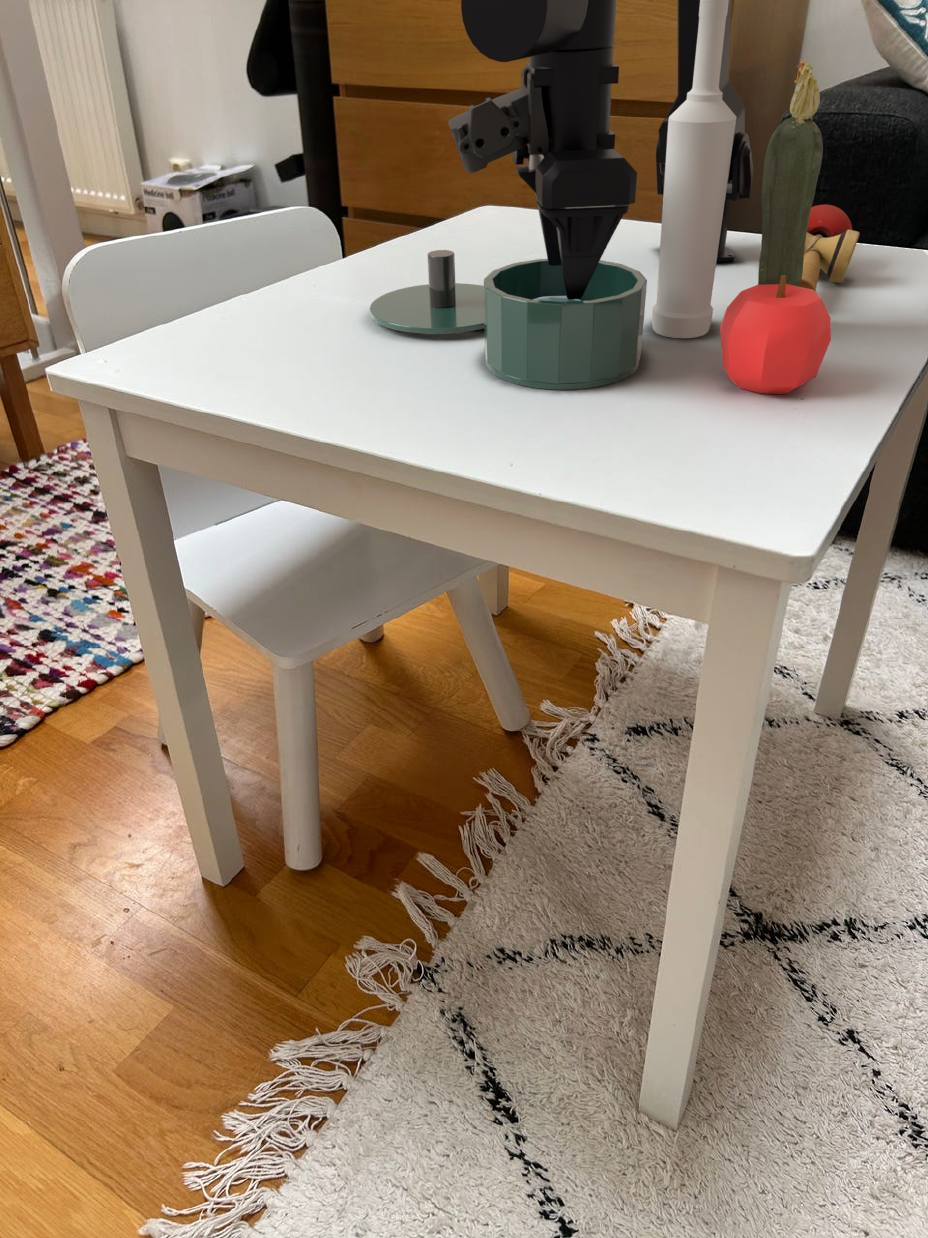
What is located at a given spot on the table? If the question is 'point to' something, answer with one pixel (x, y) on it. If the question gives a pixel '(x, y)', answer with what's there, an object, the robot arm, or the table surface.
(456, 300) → the lid
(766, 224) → the vegetable
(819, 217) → the kendama
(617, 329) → the pot
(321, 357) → the table surface
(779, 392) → the apple
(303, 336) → the table surface
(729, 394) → the table surface
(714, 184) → the bottle
